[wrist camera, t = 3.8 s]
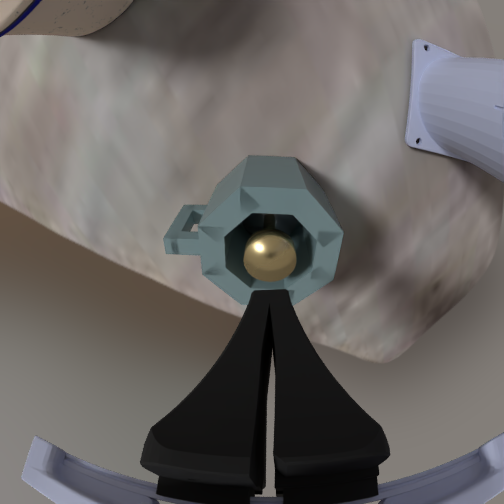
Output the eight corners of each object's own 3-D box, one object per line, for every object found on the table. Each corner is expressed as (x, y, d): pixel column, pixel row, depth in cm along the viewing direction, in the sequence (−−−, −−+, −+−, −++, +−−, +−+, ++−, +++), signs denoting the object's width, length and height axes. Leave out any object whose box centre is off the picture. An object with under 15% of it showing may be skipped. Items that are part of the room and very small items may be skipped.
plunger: (299, 189, 17) (310, 230, 13) (294, 238, 19) (301, 290, 15) (242, 186, 17) (232, 227, 13) (241, 236, 19) (234, 287, 15)
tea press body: (326, 159, 17) (351, 193, 12) (314, 251, 21) (326, 307, 16) (185, 155, 17) (152, 186, 12) (193, 246, 21) (172, 299, 16)
